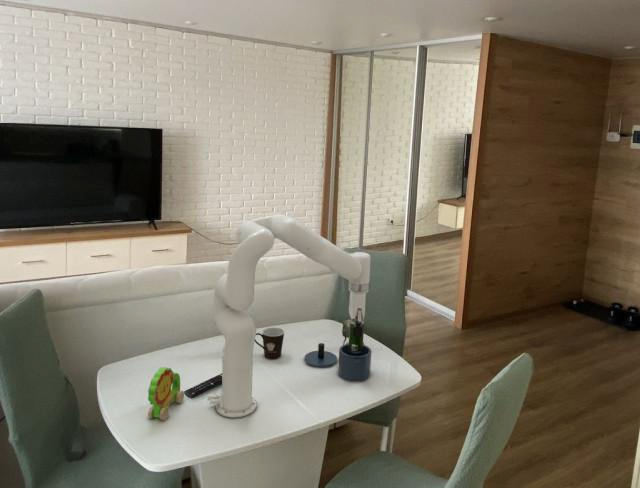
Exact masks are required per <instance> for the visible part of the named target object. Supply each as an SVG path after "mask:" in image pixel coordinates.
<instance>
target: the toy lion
mask: <svg viewBox="0 0 640 488" xmlns="http://www.w3.org/2000/svg"><path fill="white" fill-rule="evenodd" d="M147 391H148V396H147V401H148V402H149V404H150V405H151V406H150V407H149V409H148V412H147V417H148V418H149V419H154V418H157V419H159V420H161V421H166V420H167V419H168V417H169V414H170V410H169V406H170V405H171V404H172V403H174V402H175V403H176V404H182V402H183V401H184V397H185V392H184V391H183V390H181V377H180V374H179V373H178V372H174V371H173V370H172V368H170V367H166V366H165V367H162V366H161V367H159V368H158V370H157V371H155V373H154V375H153V377H152V378H151V379H150V384H149V386H148V389H147Z"/></svg>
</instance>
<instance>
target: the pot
mask: <svg viewBox="0 0 640 488" xmlns="http://www.w3.org/2000/svg"><path fill="white" fill-rule="evenodd" d="M371 364H372V350H371V348H370V347H369V345H365V344H364V345H363V349H362V352H360V353H352V352H350V351H349V349H348V344H346V343H344V345H343V344H342V345H341V346H340V347H339V349H338V367H337V368H338V369H337V373H338V376H339V377H340V378H341V379H342V380H344V381H347V382H353V383H357V382H364V381H366V380H368V379H369V378H370V377H371V367H372V366H371Z"/></svg>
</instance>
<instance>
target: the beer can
mask: <svg viewBox="0 0 640 488" xmlns="http://www.w3.org/2000/svg"><path fill="white" fill-rule="evenodd" d="M356 318H358V317H356ZM349 320H350V325H349V338H348V343H349V344H348V349H349V351H350V352H352V353H360V352H362V349H363V342H364V331H365V318H364V319H362V337H353V326H354V319H351V318H350V319H349ZM357 321H358V320H356V322H357Z"/></svg>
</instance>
